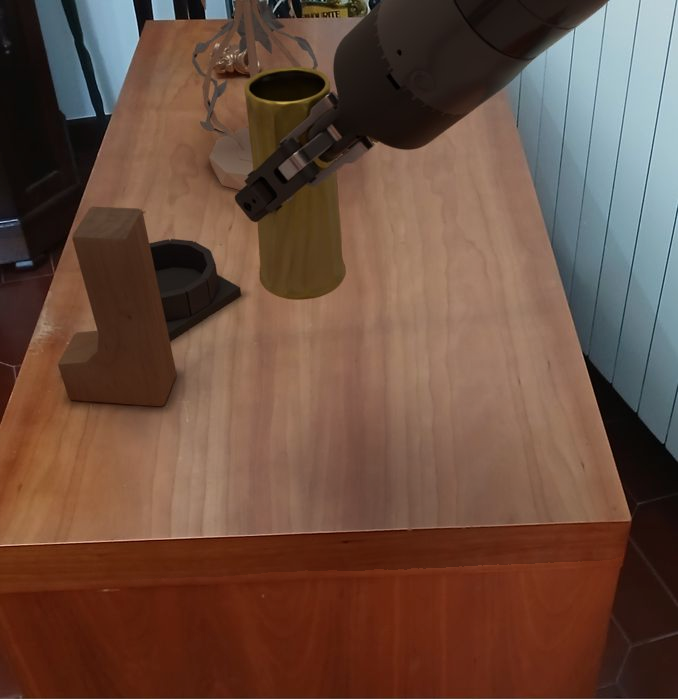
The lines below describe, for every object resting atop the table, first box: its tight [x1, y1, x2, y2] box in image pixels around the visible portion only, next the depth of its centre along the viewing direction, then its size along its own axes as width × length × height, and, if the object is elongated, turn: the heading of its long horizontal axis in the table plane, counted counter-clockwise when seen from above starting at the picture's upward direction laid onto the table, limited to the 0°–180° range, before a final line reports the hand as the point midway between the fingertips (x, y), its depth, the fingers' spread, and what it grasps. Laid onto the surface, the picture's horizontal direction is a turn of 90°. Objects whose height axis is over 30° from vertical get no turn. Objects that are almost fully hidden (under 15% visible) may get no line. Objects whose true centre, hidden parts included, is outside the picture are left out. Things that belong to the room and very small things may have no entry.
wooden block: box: [57, 206, 177, 407], centre depth 78 cm, size 9×4×18 cm, turn 82°
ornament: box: [209, 41, 262, 75], centre depth 132 cm, size 8×7×4 cm
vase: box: [244, 66, 347, 301], centre depth 60 cm, size 6×6×14 cm
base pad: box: [149, 238, 242, 342], centre depth 92 cm, size 10×10×4 cm
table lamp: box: [191, 0, 319, 191], centre depth 100 cm, size 22×22×40 cm
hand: (273, 187), depth 62 cm, fingers closed on vase, 5 cm apart
